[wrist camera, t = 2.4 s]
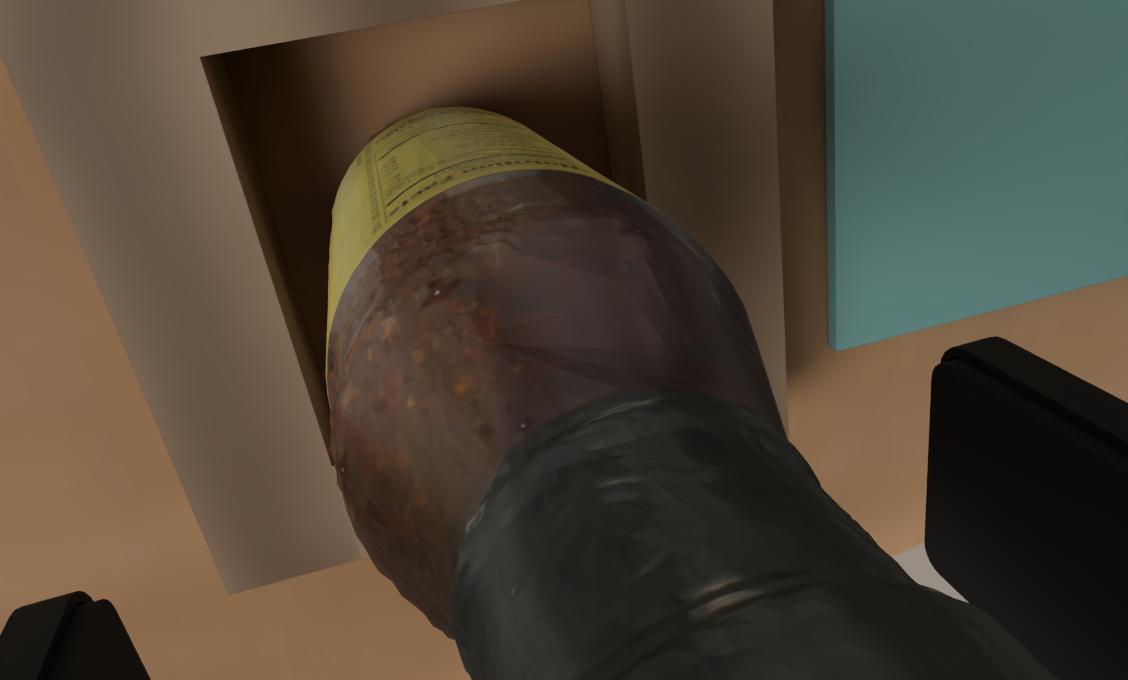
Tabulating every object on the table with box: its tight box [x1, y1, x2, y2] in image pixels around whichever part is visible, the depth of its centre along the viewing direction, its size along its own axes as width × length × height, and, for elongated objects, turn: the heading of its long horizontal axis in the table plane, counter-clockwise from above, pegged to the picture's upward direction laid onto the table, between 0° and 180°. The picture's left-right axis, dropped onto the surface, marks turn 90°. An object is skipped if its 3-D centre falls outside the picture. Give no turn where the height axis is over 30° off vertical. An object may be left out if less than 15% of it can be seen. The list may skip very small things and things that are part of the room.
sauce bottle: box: [326, 106, 1059, 680], centre depth 14 cm, size 6×6×20 cm
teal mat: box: [824, 0, 1128, 352], centre depth 25 cm, size 12×12×1 cm
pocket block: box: [0, 0, 789, 595], centre depth 21 cm, size 16×16×3 cm
